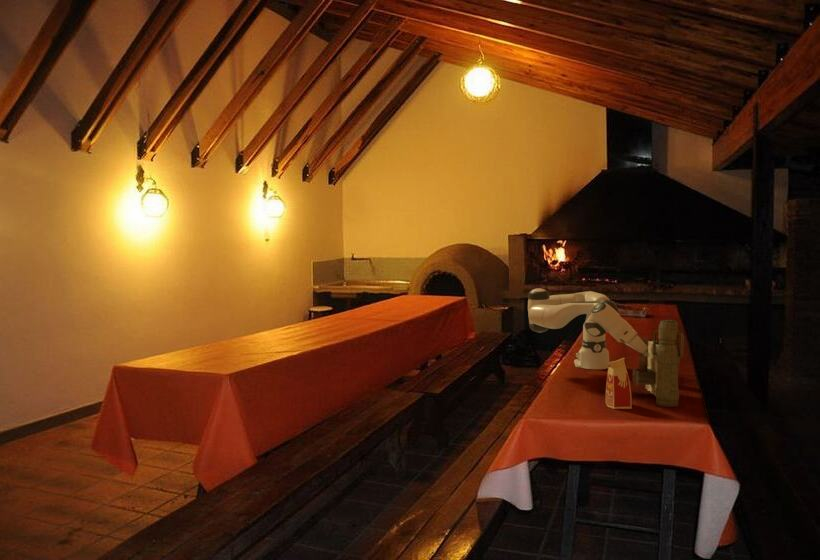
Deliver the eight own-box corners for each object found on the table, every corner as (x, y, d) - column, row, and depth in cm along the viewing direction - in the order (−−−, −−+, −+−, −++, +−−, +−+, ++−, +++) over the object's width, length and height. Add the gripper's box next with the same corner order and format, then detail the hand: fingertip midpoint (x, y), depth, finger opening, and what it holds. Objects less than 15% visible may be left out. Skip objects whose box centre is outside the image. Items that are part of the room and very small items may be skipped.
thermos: (681, 408, 258) (683, 322, 255) (650, 404, 264) (651, 320, 261) (684, 403, 266) (685, 319, 263) (654, 399, 272) (655, 317, 269)
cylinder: (637, 373, 282) (638, 337, 280) (645, 373, 282) (646, 337, 280) (640, 375, 278) (641, 338, 277) (648, 375, 278) (649, 338, 277)
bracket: (628, 389, 289) (629, 341, 287) (648, 388, 289) (648, 340, 287) (642, 399, 273) (642, 348, 271) (662, 398, 273) (663, 347, 271)
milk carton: (624, 402, 269) (624, 355, 267) (632, 408, 259) (633, 360, 258) (602, 403, 268) (603, 355, 267) (610, 409, 259) (610, 360, 257)
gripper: (610, 333, 289) (631, 354, 290) (625, 341, 269) (648, 364, 269) (620, 323, 289) (641, 344, 289) (636, 331, 268) (659, 353, 269)
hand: (644, 354), depth 279 cm, fingers closed on cylinder, 4 cm apart
